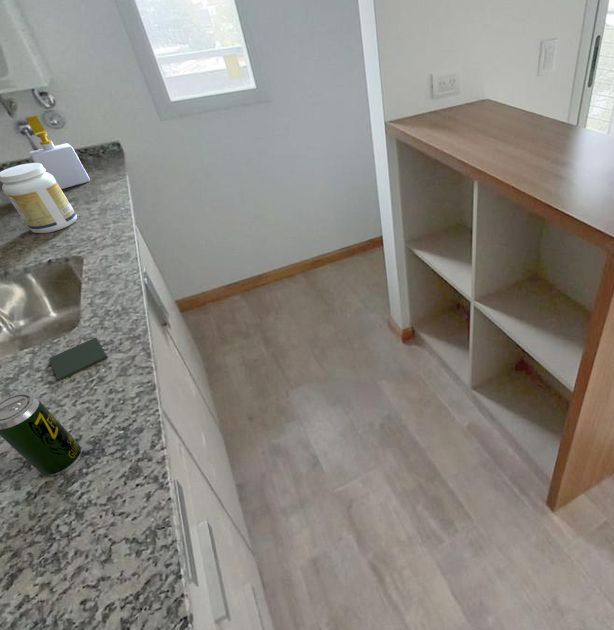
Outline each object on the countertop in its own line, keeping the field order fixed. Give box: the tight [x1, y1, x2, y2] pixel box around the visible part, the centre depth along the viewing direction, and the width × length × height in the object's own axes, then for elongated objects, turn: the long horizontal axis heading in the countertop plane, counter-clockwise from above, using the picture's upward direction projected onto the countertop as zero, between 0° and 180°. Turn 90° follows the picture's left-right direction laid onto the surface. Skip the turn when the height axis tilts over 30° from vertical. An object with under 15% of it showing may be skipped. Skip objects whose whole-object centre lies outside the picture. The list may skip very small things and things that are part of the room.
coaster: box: [48, 336, 109, 382], centre depth 82 cm, size 8×8×1 cm
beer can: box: [0, 392, 82, 477], centre depth 60 cm, size 5×5×12 cm
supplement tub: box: [0, 162, 78, 234], centre depth 126 cm, size 12×12×17 cm
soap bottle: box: [25, 114, 91, 190], centre depth 152 cm, size 12×7×23 cm, turn 134°
